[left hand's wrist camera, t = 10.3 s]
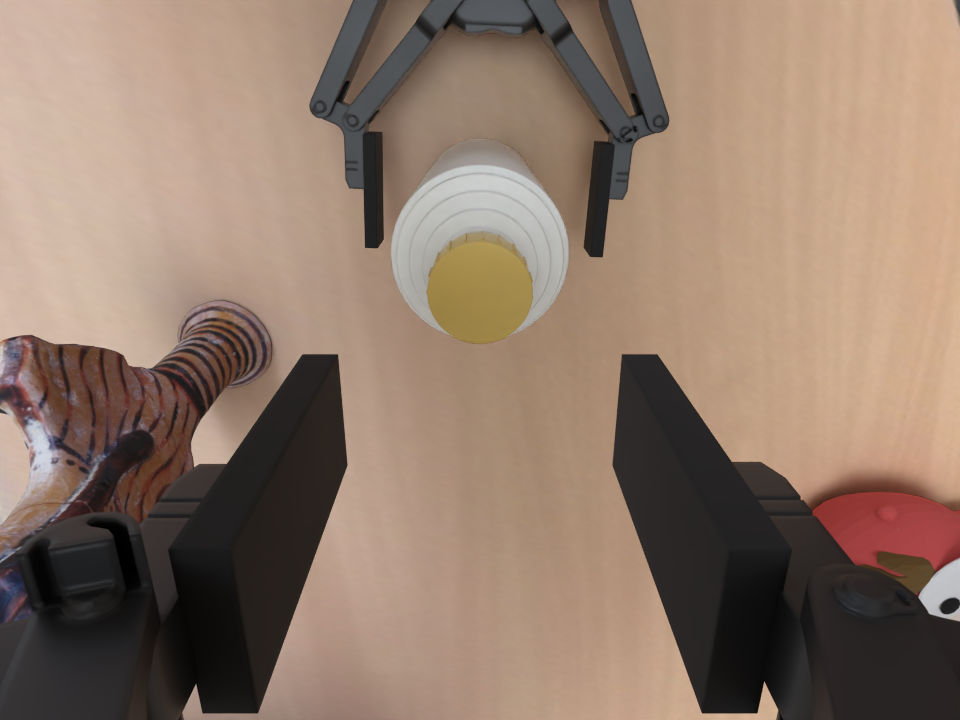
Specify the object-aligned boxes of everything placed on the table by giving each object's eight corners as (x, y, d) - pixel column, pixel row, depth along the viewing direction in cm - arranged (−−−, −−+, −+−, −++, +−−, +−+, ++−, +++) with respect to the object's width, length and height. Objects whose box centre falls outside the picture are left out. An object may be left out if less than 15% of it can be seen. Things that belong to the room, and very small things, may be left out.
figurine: (125, 282, 48) (-365, 537, 20) (210, 231, 47) (-190, 429, 19) (246, 439, 53) (-16, 822, 25) (326, 397, 51) (144, 752, 24)
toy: (941, 814, 58) (809, 629, 46) (863, 712, 67) (736, 535, 55) (1137, 704, 55) (1053, 478, 43) (1029, 614, 64) (934, 406, 52)
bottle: (544, 146, 45) (608, 196, 22) (525, 258, 48) (567, 401, 25) (430, 130, 44) (380, 164, 22) (419, 244, 47) (364, 376, 25)
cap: (538, 238, 24) (543, 248, 23) (522, 335, 26) (525, 351, 24) (435, 224, 24) (432, 233, 22) (424, 323, 25) (420, 338, 24)
